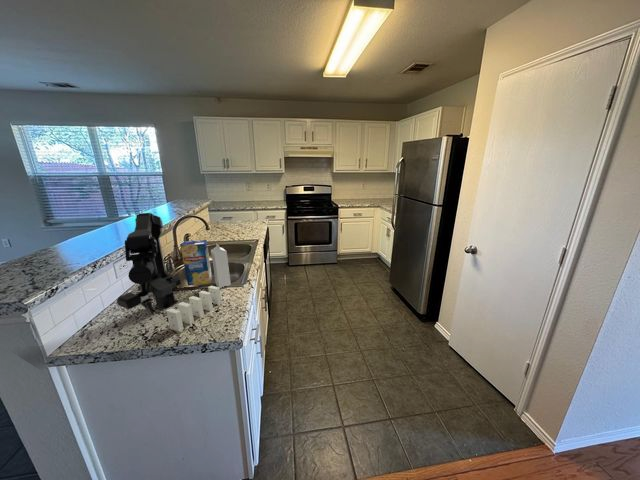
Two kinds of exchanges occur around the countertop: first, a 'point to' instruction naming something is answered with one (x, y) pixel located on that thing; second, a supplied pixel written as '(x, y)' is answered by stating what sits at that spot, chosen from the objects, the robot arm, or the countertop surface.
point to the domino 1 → (175, 319)
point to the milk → (220, 266)
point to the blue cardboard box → (196, 262)
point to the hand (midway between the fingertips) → (156, 311)
